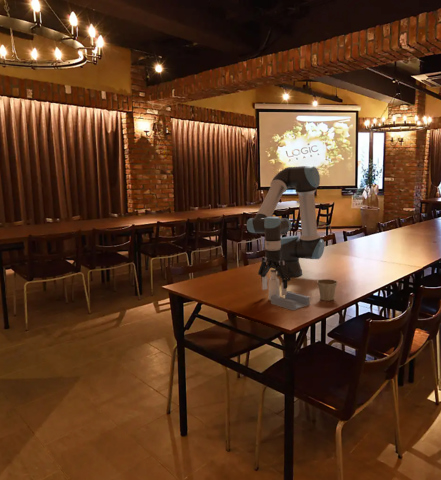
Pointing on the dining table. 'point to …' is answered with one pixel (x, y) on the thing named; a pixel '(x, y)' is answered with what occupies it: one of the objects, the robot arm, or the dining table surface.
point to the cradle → (291, 301)
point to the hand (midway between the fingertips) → (274, 292)
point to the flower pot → (327, 289)
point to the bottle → (273, 285)
